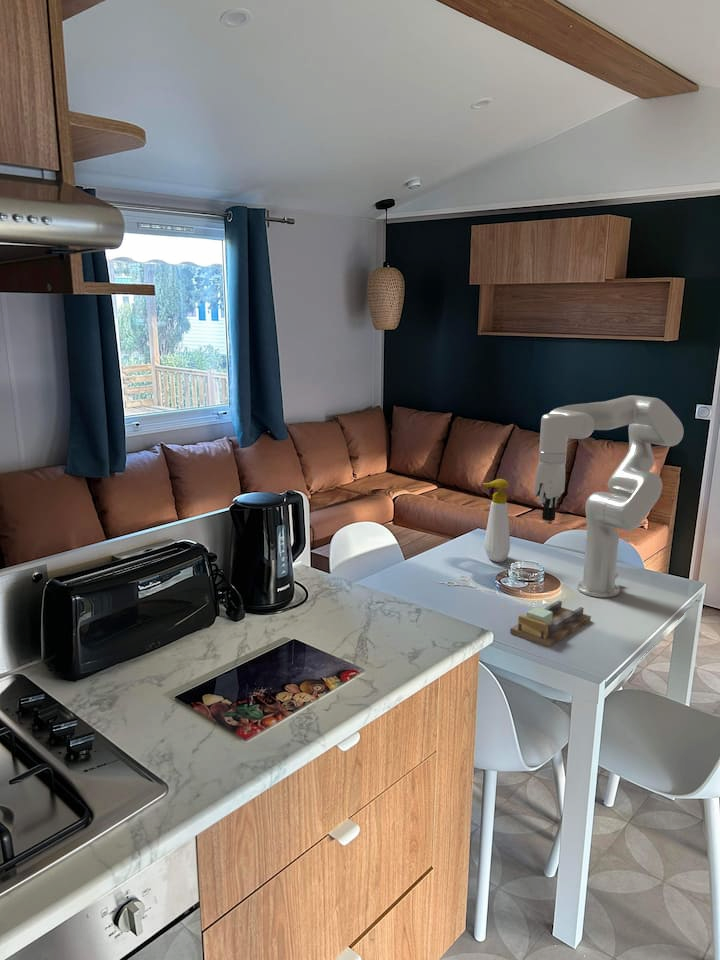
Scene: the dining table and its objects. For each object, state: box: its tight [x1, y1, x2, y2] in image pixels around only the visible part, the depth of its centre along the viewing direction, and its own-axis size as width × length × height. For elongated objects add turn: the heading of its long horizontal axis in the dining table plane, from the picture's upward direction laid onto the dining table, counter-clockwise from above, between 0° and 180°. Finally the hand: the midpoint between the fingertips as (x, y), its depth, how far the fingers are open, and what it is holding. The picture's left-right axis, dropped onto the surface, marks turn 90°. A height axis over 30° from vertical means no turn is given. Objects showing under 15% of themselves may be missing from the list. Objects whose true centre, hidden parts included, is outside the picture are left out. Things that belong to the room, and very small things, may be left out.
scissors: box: [438, 575, 500, 598], centre depth 235 cm, size 11×1×20 cm
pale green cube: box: [526, 606, 553, 626], centre depth 200 cm, size 5×5×5 cm
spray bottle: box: [481, 478, 511, 563], centre depth 257 cm, size 13×10×29 cm
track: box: [509, 600, 592, 648], centre depth 205 cm, size 23×12×6 cm, turn 137°
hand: (548, 519), depth 213 cm, fingers closed
